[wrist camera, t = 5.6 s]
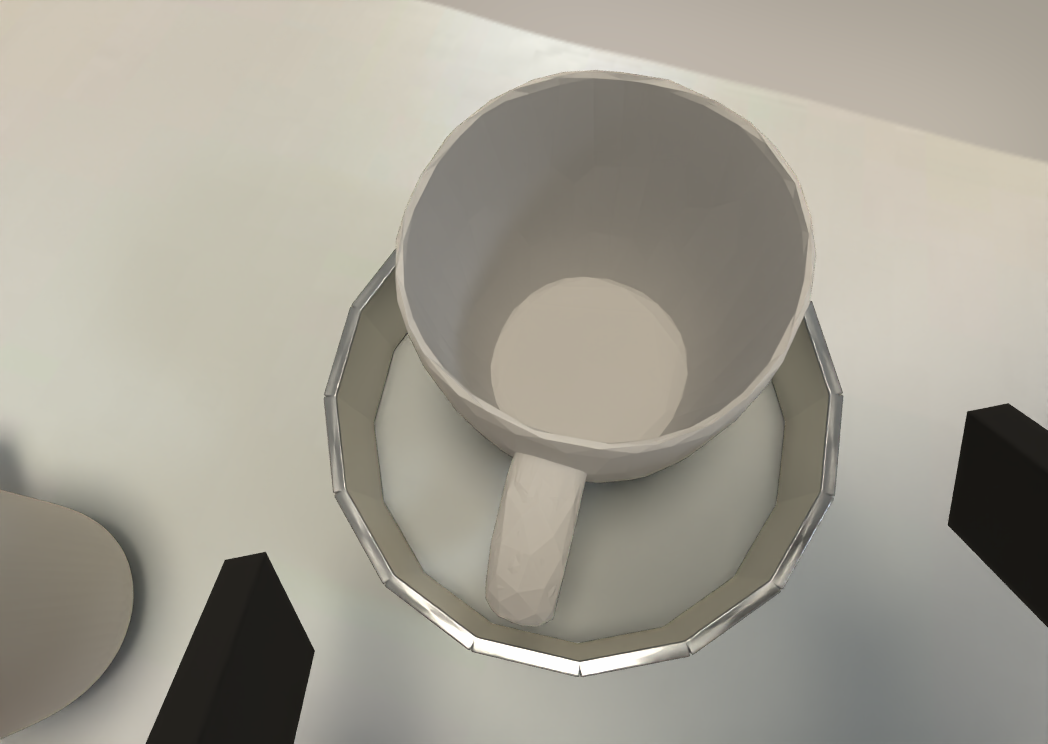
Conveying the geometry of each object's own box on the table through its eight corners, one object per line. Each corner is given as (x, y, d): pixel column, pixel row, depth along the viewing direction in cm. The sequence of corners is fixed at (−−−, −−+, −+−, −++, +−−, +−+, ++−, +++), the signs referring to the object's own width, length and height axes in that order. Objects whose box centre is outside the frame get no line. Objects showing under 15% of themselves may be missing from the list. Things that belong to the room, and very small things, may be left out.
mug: (500, 236, 25) (458, 35, 16) (736, 286, 24) (849, 102, 14) (399, 572, 22) (268, 580, 12) (666, 648, 21) (750, 723, 11)
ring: (726, 197, 25) (755, 131, 21) (853, 603, 21) (917, 612, 17) (345, 273, 25) (305, 221, 21) (394, 692, 21) (355, 721, 17)
